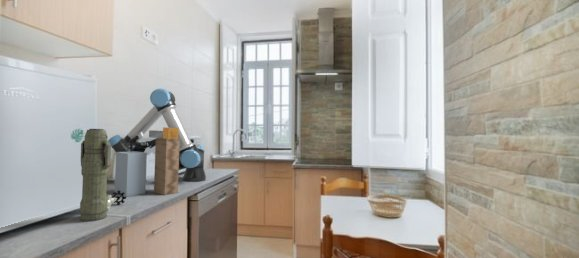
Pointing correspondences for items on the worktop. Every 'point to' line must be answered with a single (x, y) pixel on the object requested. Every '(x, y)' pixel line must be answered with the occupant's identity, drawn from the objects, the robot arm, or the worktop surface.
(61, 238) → the worktop surface
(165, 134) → the lockout bar
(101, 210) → the thermos
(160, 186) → the wooden upright block
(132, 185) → the grey upright pillar
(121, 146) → the robot arm
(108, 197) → the valve
